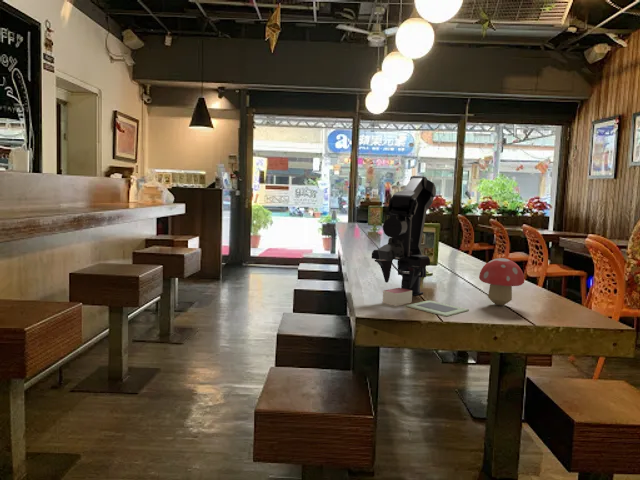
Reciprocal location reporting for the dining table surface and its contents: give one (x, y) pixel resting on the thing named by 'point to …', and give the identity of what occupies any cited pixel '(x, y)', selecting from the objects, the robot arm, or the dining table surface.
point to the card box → (397, 296)
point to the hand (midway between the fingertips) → (398, 284)
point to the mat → (437, 308)
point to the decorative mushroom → (501, 279)
